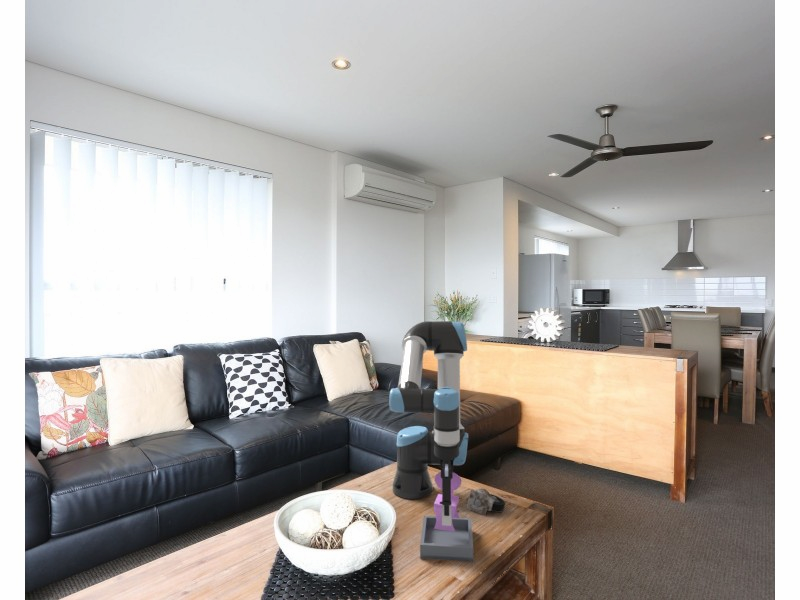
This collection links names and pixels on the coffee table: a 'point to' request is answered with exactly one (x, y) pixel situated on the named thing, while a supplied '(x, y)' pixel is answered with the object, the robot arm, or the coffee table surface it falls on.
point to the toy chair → (454, 501)
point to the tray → (447, 540)
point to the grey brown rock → (484, 502)
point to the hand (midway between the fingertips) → (446, 516)
